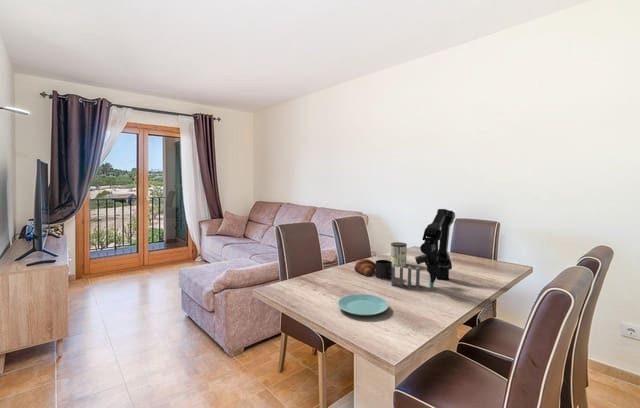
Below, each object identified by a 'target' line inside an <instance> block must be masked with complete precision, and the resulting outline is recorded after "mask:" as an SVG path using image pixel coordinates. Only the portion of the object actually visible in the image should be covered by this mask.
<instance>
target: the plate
mask: <svg viewBox="0 0 640 408" xmlns="http://www.w3.org/2000/svg"><path fill="white" fill-rule="evenodd" d="M389 305H390V304H389V302H388V301H387V300H386V299H384V298H383V297H380V296H377V295H373V294H367V293H356V294H355V293H353V294H348V295H344V296H342V297H340V298H339V299H338V301H337V306H338V308H339V309H341V310H342V311H344V312H346V313H348V314H351V315H354V316H358V317H370V316H375V315H379V314H382V313H384V312H385V311H387V309H388V308H389Z"/></svg>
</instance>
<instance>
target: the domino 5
mask: <svg viewBox="0 0 640 408" xmlns="http://www.w3.org/2000/svg"><path fill="white" fill-rule="evenodd" d="M428 281H429V284H428V286H429V289H430V290H434V286H435V285H434V283H435V282H434V283H431V278H430V276H429V280H428Z"/></svg>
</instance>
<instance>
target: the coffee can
mask: <svg viewBox="0 0 640 408" xmlns="http://www.w3.org/2000/svg"><path fill="white" fill-rule="evenodd" d="M407 246H408V244H407V243H405V242H399V241H398V242H391V243H390V261H391V262H392V265H395V267H400V266H403V267H405V266H407Z"/></svg>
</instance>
